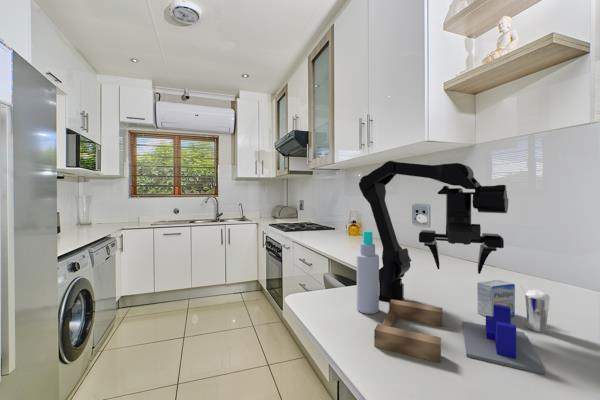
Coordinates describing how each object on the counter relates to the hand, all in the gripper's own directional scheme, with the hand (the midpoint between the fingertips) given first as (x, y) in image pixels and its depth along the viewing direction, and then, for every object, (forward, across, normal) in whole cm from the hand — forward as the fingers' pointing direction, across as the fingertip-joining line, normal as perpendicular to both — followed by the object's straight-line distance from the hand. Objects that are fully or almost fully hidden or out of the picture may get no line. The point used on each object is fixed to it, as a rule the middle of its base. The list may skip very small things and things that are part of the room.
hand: (458, 271), depth 73 cm
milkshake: (+12, +16, +1) cm, 20 cm away
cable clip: (+12, +7, -12) cm, 18 cm away
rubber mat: (+12, +7, -12) cm, 18 cm away
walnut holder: (+12, -10, -15) cm, 22 cm away
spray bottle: (+12, -22, -7) cm, 26 cm away
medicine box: (+12, +9, +6) cm, 16 cm away
